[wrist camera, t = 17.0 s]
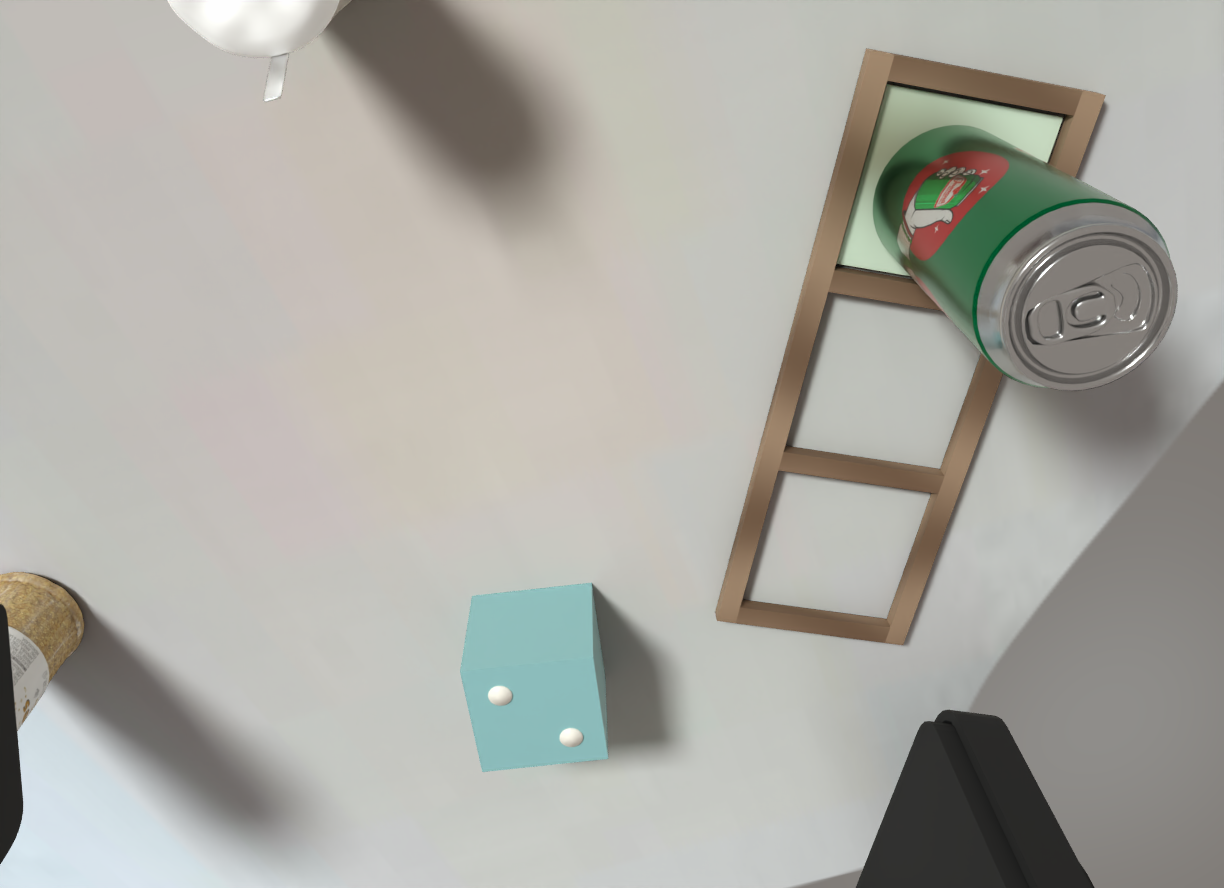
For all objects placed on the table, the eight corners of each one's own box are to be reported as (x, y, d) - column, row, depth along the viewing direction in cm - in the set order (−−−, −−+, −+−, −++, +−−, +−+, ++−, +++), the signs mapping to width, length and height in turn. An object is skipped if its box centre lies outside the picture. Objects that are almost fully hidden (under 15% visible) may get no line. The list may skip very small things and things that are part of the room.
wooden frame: (899, 636, 45) (903, 645, 45) (715, 612, 45) (717, 620, 44) (1097, 92, 35) (1105, 95, 35) (866, 48, 35) (870, 50, 34)
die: (605, 676, 46) (608, 759, 42) (491, 689, 46) (482, 773, 42) (591, 581, 44) (593, 658, 39) (472, 594, 44) (459, 672, 39)
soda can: (1022, 242, 38) (1200, 372, 27) (882, 284, 38) (1001, 428, 27) (1003, 101, 35) (1188, 181, 25) (855, 148, 36) (972, 246, 25)
